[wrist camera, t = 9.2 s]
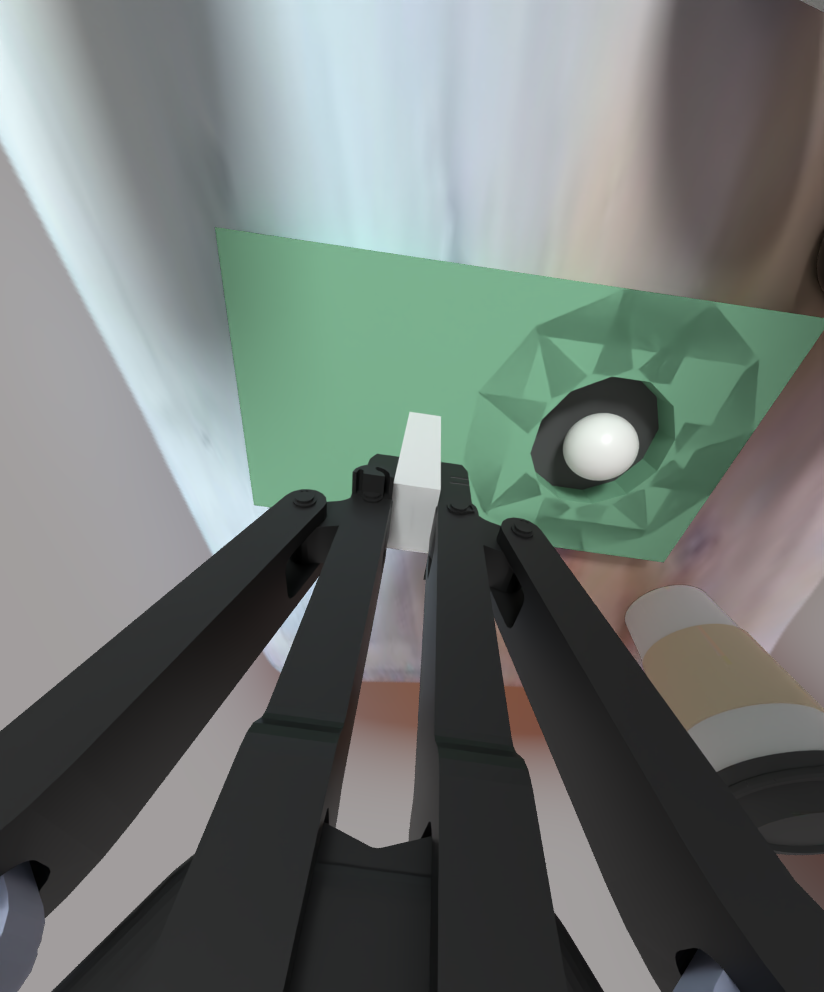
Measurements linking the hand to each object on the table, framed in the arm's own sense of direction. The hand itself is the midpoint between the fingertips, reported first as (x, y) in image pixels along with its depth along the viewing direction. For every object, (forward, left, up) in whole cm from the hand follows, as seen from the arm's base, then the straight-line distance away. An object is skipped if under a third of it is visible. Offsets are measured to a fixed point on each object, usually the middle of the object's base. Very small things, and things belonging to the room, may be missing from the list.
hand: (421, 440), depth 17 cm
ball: (+1, +11, -4) cm, 11 cm away
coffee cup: (+16, +24, -7) cm, 29 cm away
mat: (+1, +4, -6) cm, 7 cm away
